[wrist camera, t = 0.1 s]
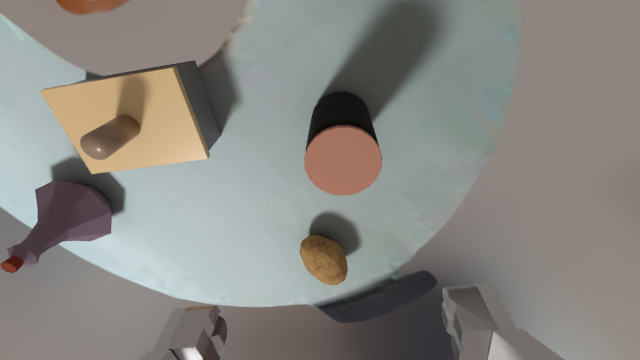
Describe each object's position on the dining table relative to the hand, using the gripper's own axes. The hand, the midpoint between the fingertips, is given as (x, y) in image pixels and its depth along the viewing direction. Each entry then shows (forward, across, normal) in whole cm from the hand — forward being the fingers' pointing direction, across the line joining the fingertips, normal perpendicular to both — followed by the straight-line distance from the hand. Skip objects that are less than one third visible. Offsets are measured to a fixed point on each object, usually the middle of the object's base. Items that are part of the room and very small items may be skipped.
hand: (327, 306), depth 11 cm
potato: (+48, +8, +41) cm, 64 cm away
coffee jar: (+48, 0, +10) cm, 49 cm away
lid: (+42, +34, +3) cm, 54 cm away
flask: (+48, +59, +21) cm, 79 cm away
